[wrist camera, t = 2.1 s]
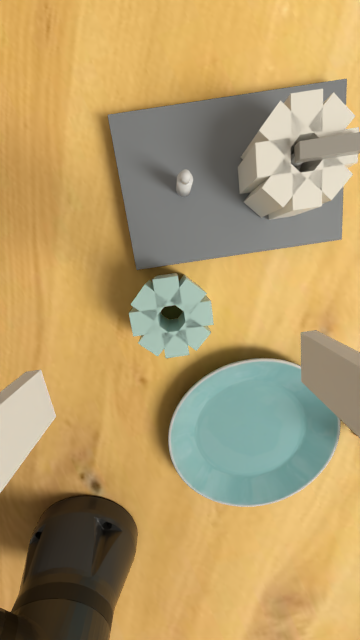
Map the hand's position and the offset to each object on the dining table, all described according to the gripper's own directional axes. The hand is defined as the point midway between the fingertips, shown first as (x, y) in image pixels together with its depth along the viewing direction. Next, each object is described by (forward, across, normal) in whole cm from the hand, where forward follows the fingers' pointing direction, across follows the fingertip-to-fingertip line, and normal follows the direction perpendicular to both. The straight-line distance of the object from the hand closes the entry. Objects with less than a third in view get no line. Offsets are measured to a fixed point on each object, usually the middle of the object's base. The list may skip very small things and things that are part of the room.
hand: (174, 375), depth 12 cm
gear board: (+16, +8, +12) cm, 22 cm away
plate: (+17, +8, -18) cm, 26 cm away
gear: (+15, +12, +12) cm, 23 cm away
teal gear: (+16, 0, 0) cm, 17 cm away
